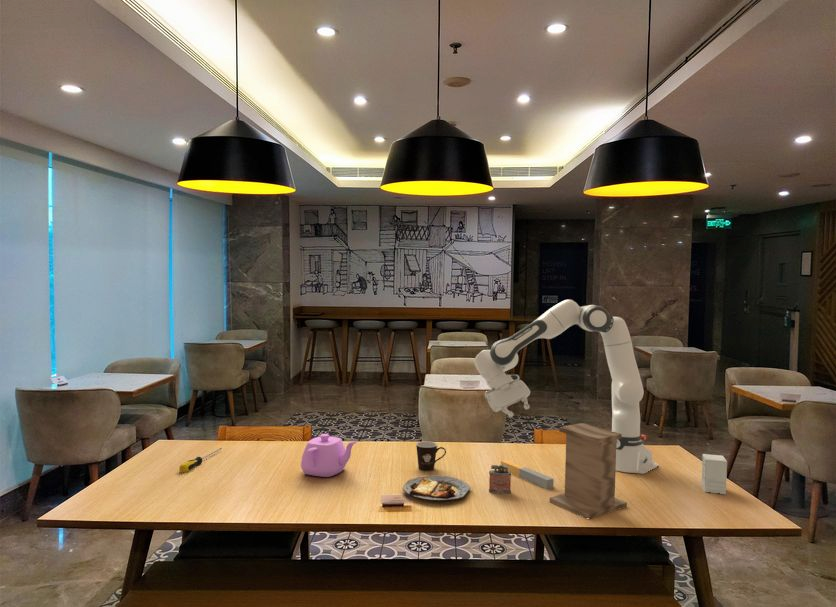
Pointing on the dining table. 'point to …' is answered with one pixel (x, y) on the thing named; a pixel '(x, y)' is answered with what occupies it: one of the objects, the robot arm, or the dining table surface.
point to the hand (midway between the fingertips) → (520, 412)
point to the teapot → (325, 456)
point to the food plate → (428, 488)
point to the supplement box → (714, 473)
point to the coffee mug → (427, 455)
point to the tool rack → (589, 471)
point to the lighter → (500, 480)
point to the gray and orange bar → (529, 474)
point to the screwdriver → (193, 463)
